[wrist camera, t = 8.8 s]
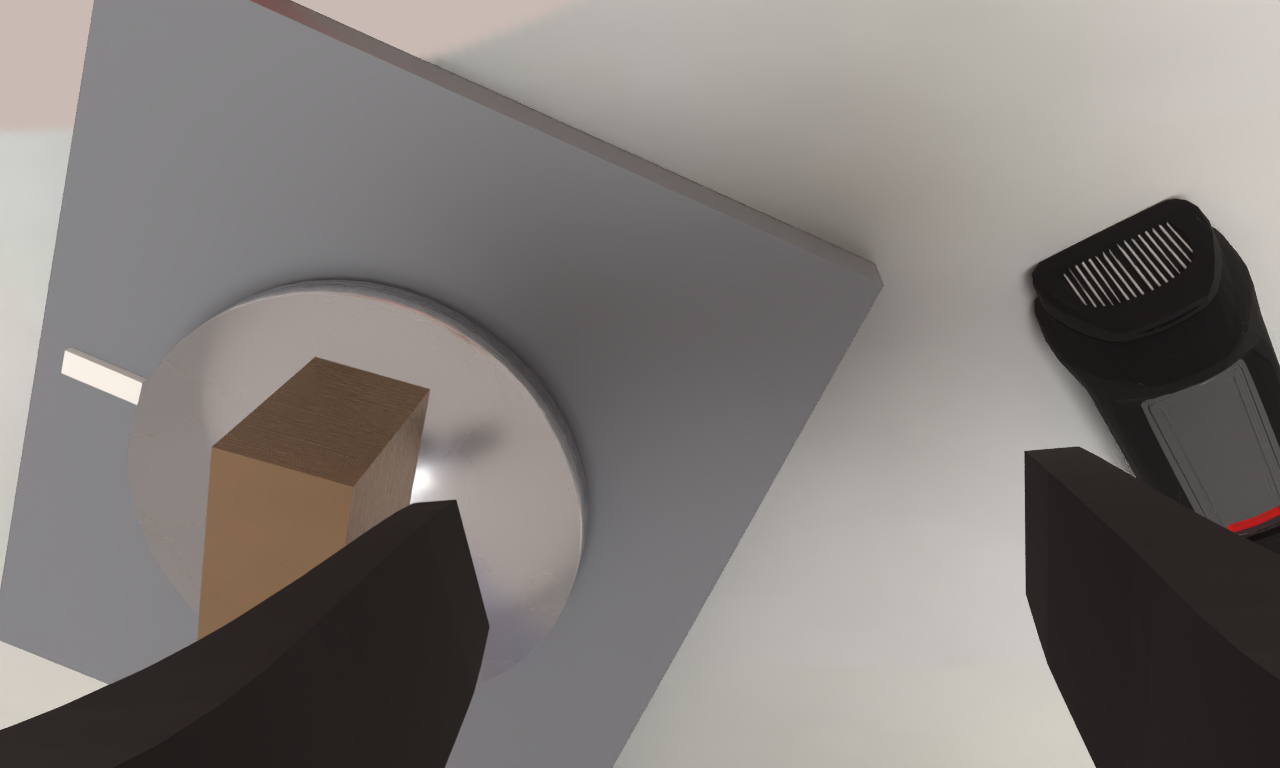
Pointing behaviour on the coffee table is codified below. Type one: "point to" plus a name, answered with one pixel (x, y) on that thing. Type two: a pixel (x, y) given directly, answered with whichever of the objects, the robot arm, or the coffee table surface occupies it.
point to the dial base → (435, 269)
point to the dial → (354, 453)
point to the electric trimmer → (1174, 361)
